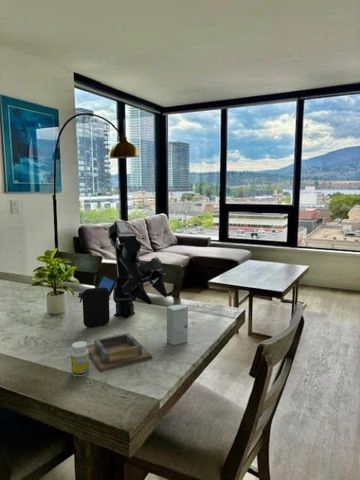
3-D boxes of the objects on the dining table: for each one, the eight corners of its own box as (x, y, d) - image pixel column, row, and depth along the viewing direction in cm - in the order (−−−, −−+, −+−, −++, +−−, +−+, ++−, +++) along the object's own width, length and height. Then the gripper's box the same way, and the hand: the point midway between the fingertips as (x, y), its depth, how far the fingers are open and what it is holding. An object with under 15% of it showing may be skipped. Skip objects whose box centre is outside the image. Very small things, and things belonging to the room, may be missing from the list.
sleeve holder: (85, 349, 114) (85, 338, 114) (132, 339, 122) (132, 329, 121) (100, 371, 100) (99, 359, 100) (152, 358, 108) (151, 347, 107)
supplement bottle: (73, 368, 102) (72, 340, 101) (90, 368, 102) (89, 340, 101) (70, 377, 97) (68, 348, 96) (87, 376, 98) (86, 347, 96)
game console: (77, 295, 171) (77, 277, 170) (103, 291, 179) (103, 273, 178) (91, 304, 159) (90, 284, 157) (118, 298, 167) (118, 279, 166)
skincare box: (173, 345, 117) (173, 310, 115) (165, 341, 120) (165, 306, 119) (188, 341, 120) (188, 307, 118) (181, 337, 124) (181, 303, 122)
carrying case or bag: (81, 330, 129) (80, 291, 127) (80, 327, 132) (78, 288, 130) (110, 325, 134) (109, 287, 132) (108, 322, 136) (107, 285, 134)
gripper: (128, 254, 115) (156, 293, 111) (161, 246, 130) (187, 280, 126) (110, 275, 120) (136, 313, 116) (145, 265, 136) (169, 298, 132)
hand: (159, 300), depth 122 cm, fingers open, 9 cm apart
